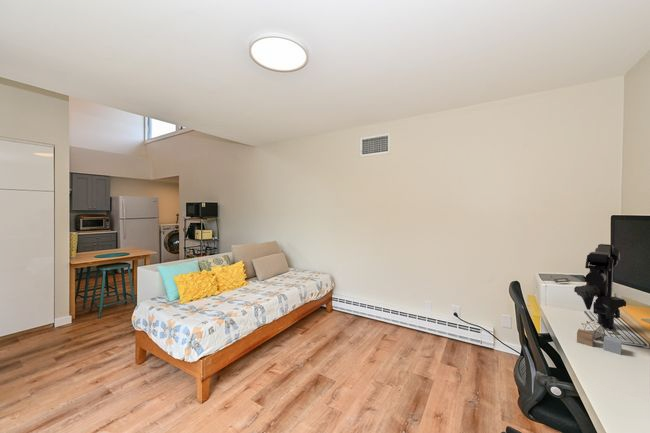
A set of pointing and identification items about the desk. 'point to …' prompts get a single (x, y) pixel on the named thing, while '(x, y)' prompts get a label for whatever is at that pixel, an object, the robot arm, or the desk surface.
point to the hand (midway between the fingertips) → (597, 313)
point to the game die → (594, 328)
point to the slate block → (612, 344)
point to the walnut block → (585, 337)
